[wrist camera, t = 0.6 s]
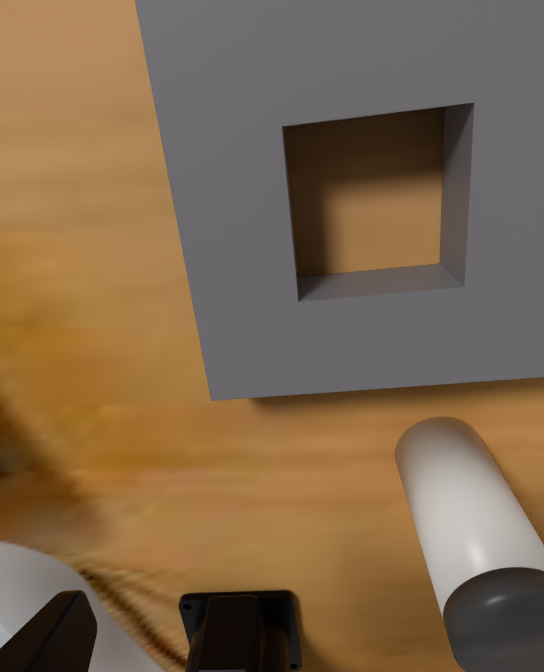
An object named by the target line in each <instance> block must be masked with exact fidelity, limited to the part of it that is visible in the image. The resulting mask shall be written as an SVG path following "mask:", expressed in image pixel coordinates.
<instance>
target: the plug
mask: <svg viewBox="0 0 544 672" xmlns="http://www.w3.org/2000/svg"><path fill="white" fill-rule="evenodd" d="M395 460H396V464H397V467H398V470H399V474H400V477H401V480H402V484H403V487H404V490H405V494H406V497H407V500H408V504H409V507H410V511H411V514H412V517H413V521H414V524H415V527H416V531H417V534H418V537H419V541H420V544H421V548H422V551H423V554H424V558H425V561H426V564H427V568H428V571H429V574H430V578H431V581H432V585H433V588H434V591H435V595H436V598H437V601H438V605H439V608H440V611H441V615H442V618H443V621H444V625H445V628H446V632H447V635H448V638H449V642H450V645H451V648H452V652H453V655H454V658H455V660H456V662H457V663H458V664H459V666H460V667H461V668H462V669H463V670H464V671H466V672H544V545H543V543H542V541H541V539H540V538H539V536H538V534H537V533H536V531H535V529H534V528H533V526H532V524H531V523H530V521H529V519H528V518H527V516H526V514H525V513H524V511H523V509H522V507H521V506H520V504H519V502H518V501H517V499H516V497H515V496H514V494H513V492H512V491H511V489H510V487H509V486H508V484H507V482H506V480H505V479H504V477H503V475H502V474H501V472H500V470H499V469H498V467H497V465H496V464H495V462H494V460H493V459H492V457H491V455H490V454H489V452H488V450H487V448H486V447H485V445H484V443H483V442H482V440H481V438H480V437H479V435H478V433H477V432H476V431H475V429H474V428H473V427H472V426H470V425H469V424H467V423H466V422H464V421H462V420H459V419H456V418H452V417H434V418H429V419H426V420H423V421H420V422H418V423H416V424H415V425H413V426H411V427H410V428H409V429H408V430H407V431H406V432H405V433H404V434H403V435H402V436H401V438H400V439H399V441H398V443H397V446H396V450H395Z"/></svg>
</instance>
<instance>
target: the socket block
mask: <svg viewBox="0 0 544 672" xmlns="http://www.w3.org/2000/svg"><path fill="white" fill-rule="evenodd" d="M135 3H136V9H137V14H138V19H139V24H140V30H141V35H142V40H143V45H144V51H145V56H146V61H147V66H148V72H149V77H150V82H151V87H152V92H153V98H154V103H155V108H156V113H157V119H158V124H159V129H160V134H161V140H162V145H163V150H164V155H165V161H166V166H167V171H168V176H169V182H170V187H171V192H172V197H173V203H174V208H175V213H176V218H177V224H178V229H179V234H180V239H181V245H182V250H183V255H184V260H185V265H186V271H187V276H188V281H189V286H190V292H191V297H192V302H193V307H194V313H195V318H196V323H197V328H198V334H199V339H200V344H201V349H202V355H203V360H204V365H205V370H206V376H207V381H208V386H209V391H210V397H211V401H215V400H229V399H243V398H257V397H271V396H286V395H300V394H314V393H328V392H342V391H356V390H370V389H384V388H398V387H412V386H426V385H440V384H454V383H468V382H482V381H496V380H510V379H524V378H538V377H544V0H135ZM442 107H445V110H444V142H443V174H442V206H441V238H440V264H433V265H422V266H412V267H401V268H390V269H380V270H369V271H359V272H348V273H337V274H327V275H316V276H305V277H298V269H297V258H296V247H295V237H294V226H293V215H292V204H291V194H290V183H289V172H288V161H287V151H286V140H285V129H284V127H288V126H296V125H304V124H312V123H320V122H328V121H337V120H345V119H353V118H361V117H369V116H377V115H385V114H393V113H401V112H409V111H417V110H426V109H434V108H442Z"/></svg>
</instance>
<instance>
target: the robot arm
mask: <svg viewBox="0 0 544 672" xmlns="http://www.w3.org/2000/svg"><path fill="white" fill-rule="evenodd" d="M179 609H180V613H181V617H182V620H183V624H184V627H185V631H186V634H187V638H188V642H189V645H190V650H189V655H188V660H187V665H186V670H185V672H290V671H298V670H300V669H301V667H302V659H301V651H300V644H299V637H298V629H297V622H296V615H295V607H294V600H293V596H292V594H291V593H290V592H287V591H267V592H237V593H207V594H185V595H183V596H181V598H180V602H179ZM96 634H97V622H96V618H95V616H94V613H93V611H92V608H91V606H90V603H89V601H88V599H87V596H86V594H85V593H84V592H83V591H82V590H73V591H63V592H60V593H58V594H57V595H56V596H55V597H53V598H52V599H51V600H50V601H49V602H48V603H47V604H46V605H45V606H44V607H43V608H42V609H41V610H40V611H39V612H38V613H37V614H36V615H35V616H34V617H33V618H32V619H30V620H29V622H27V623H26V624H25V625H24V626H23V627H22V628H21V629H20V630H19V631H18V632H17V633H16V634H15V635H14V636H13V637H12V638H11V639H10V640H9V641H8V642H7V643H6V644H4V645H3V646H2V647H1V648H0V672H88V669H89V664H90V660H91V656H92V652H93V648H94V643H95V639H96Z"/></svg>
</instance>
